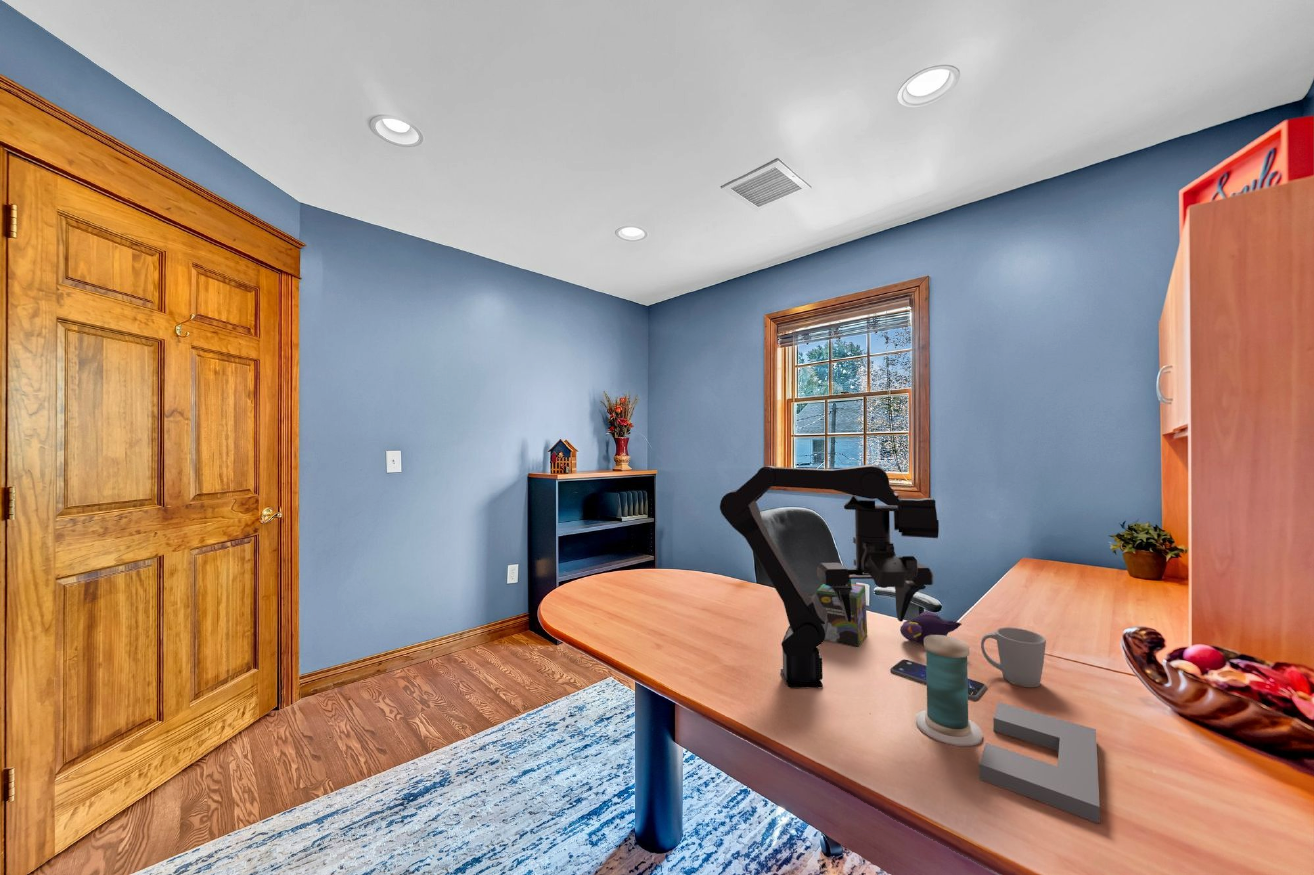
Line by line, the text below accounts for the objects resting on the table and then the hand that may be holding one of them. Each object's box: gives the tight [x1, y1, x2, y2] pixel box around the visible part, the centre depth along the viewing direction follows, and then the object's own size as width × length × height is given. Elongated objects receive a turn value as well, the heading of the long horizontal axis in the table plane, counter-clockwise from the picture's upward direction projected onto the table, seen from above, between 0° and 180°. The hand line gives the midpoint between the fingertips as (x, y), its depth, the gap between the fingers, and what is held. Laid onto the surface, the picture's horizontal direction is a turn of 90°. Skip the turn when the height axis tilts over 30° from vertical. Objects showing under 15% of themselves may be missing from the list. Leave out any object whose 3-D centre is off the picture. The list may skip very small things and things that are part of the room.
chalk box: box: [815, 579, 868, 648], centre depth 113 cm, size 9×9×15 cm
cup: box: [980, 627, 1047, 688], centre depth 92 cm, size 8×10×8 cm
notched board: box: [978, 701, 1101, 824], centre depth 69 cm, size 12×20×2 cm, turn 139°
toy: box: [899, 610, 963, 644], centre depth 109 cm, size 11×12×7 cm
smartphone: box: [889, 659, 988, 701], centre depth 92 cm, size 7×1×15 cm
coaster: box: [915, 709, 983, 747], centre depth 77 cm, size 9×9×1 cm
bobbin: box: [923, 635, 971, 737], centre depth 77 cm, size 6×6×13 cm
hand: (874, 621), depth 88 cm, fingers open, 9 cm apart
